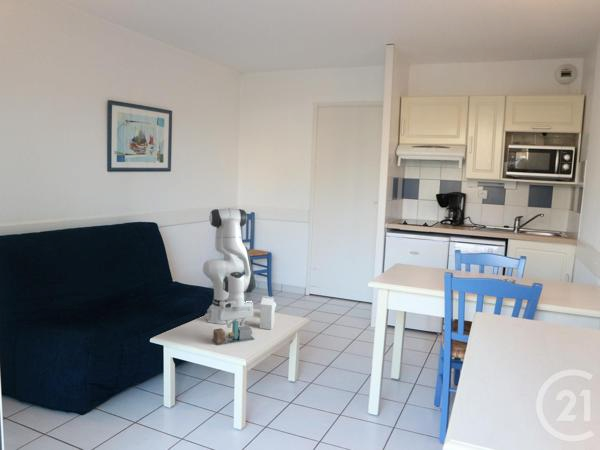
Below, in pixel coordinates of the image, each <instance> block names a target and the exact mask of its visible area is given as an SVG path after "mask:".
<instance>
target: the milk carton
mask: <svg viewBox="0 0 600 450" xmlns="http://www.w3.org/2000/svg"><path fill="white" fill-rule="evenodd" d="M275 303H276V301H275V297H274V296H267V295H263V296H262V297H261V301H260V306H259V307H260V310H259V311H260V313H259V314H260V315H259V329H263V330H272V329H273V328H274V327H275V315H276V314H275V313H276V312H275V311H276V308H275Z"/></svg>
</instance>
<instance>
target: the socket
mask: <svg viewBox="0 0 600 450" xmlns="http://www.w3.org/2000/svg"><path fill="white" fill-rule="evenodd" d="M212 333H213V340H214V341H215V342H216V343H224V342H225V337H226V331H225V330H224V329H223V328H214V329H213V332H212Z"/></svg>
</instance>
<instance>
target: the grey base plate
mask: <svg viewBox="0 0 600 450" xmlns="http://www.w3.org/2000/svg"><path fill="white" fill-rule="evenodd" d="M251 330H252V328H250V327H249V326H248V325H243V326H238V331H239V337H238V339H234V338H229V337H228V336H225V342H224V343H216V342H215V341H214V340H213V339H211V341H212V343H214V344H215V345H216V346H220V345H221V346H222V345H226V344H227V345H228V344H235V343H241V342H248V341H254V340H255V338H254V337H253V335H251Z"/></svg>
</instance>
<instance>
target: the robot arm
mask: <svg viewBox="0 0 600 450" xmlns="http://www.w3.org/2000/svg"><path fill="white" fill-rule="evenodd" d="M208 217H209V218H208V221H209V223H210V225H211V226H212V227H213V228H215V244H214V246H215V250H216V251H217V252H218V253H219V254H222V255H223V258H213V259H212V258H211V259H209V260H208V259H207V260H205V261H204V263H203V264H202V265H203V266H202V272H203V274H204V275H205V276H206V277H207V278H208V279H209V280H210V281H211V283H212V286H213V299H212V304H210V306H209V307H208V309H207V310H206V311H207V312H206V313H205V314H204V317H205V319H206V322H207V323H210V324H212V323H213V324H218V325H225V324H226V327H227V328H228V329H229V328H231V327H232V323H233V321H234V320H236V321H237V320H240V319H241V321H240V322H239V327H243V326H244V323H245V322H246V319H247V318H248V319H249V318H252V317H253V316H254V302H253V301H252V300H245V293H252V292H253V291H254V290H255V289H256V287H257V282H256V278H255V275H254V271H253V266H252V261H251V256H250V252H249V249H248V248H247V246H245V245H244V242H243V240H242V237H243V236H242V227H245V225H246V224H247V220H248V216H247V212H246V210H244V209H242V208H219V209H217V208H216V209H212V210H211V211H210V213H209V216H208ZM243 272H244V274H243Z"/></svg>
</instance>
